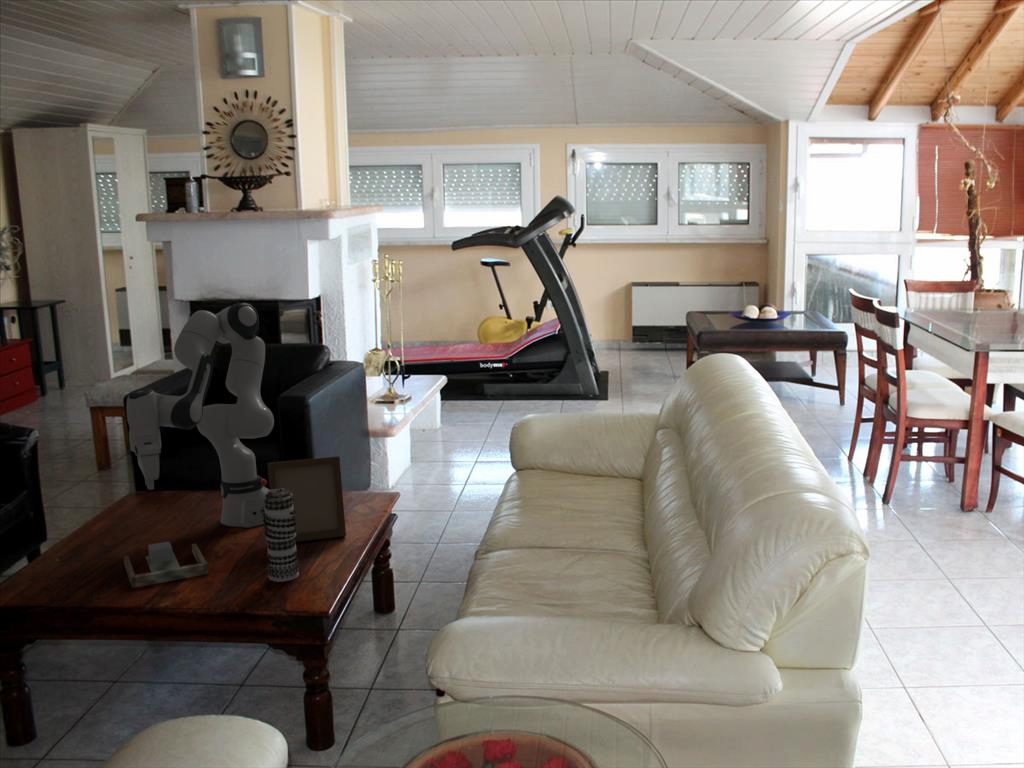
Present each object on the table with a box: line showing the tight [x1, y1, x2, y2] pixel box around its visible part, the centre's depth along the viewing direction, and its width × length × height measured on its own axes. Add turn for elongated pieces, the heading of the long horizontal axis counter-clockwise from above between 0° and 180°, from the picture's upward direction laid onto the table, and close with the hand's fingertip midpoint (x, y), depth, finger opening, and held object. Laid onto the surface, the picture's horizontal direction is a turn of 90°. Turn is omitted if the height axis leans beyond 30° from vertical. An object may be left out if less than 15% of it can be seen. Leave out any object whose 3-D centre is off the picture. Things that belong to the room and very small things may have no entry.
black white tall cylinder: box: [262, 488, 300, 583], centre depth 277 cm, size 9×9×25 cm
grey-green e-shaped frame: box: [123, 543, 209, 589], centre depth 288 cm, size 20×24×3 cm
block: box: [147, 541, 174, 564], centre depth 294 cm, size 6×6×4 cm
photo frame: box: [266, 455, 347, 543], centre depth 310 cm, size 15×22×25 cm
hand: (149, 487), depth 301 cm, fingers open, 3 cm apart
